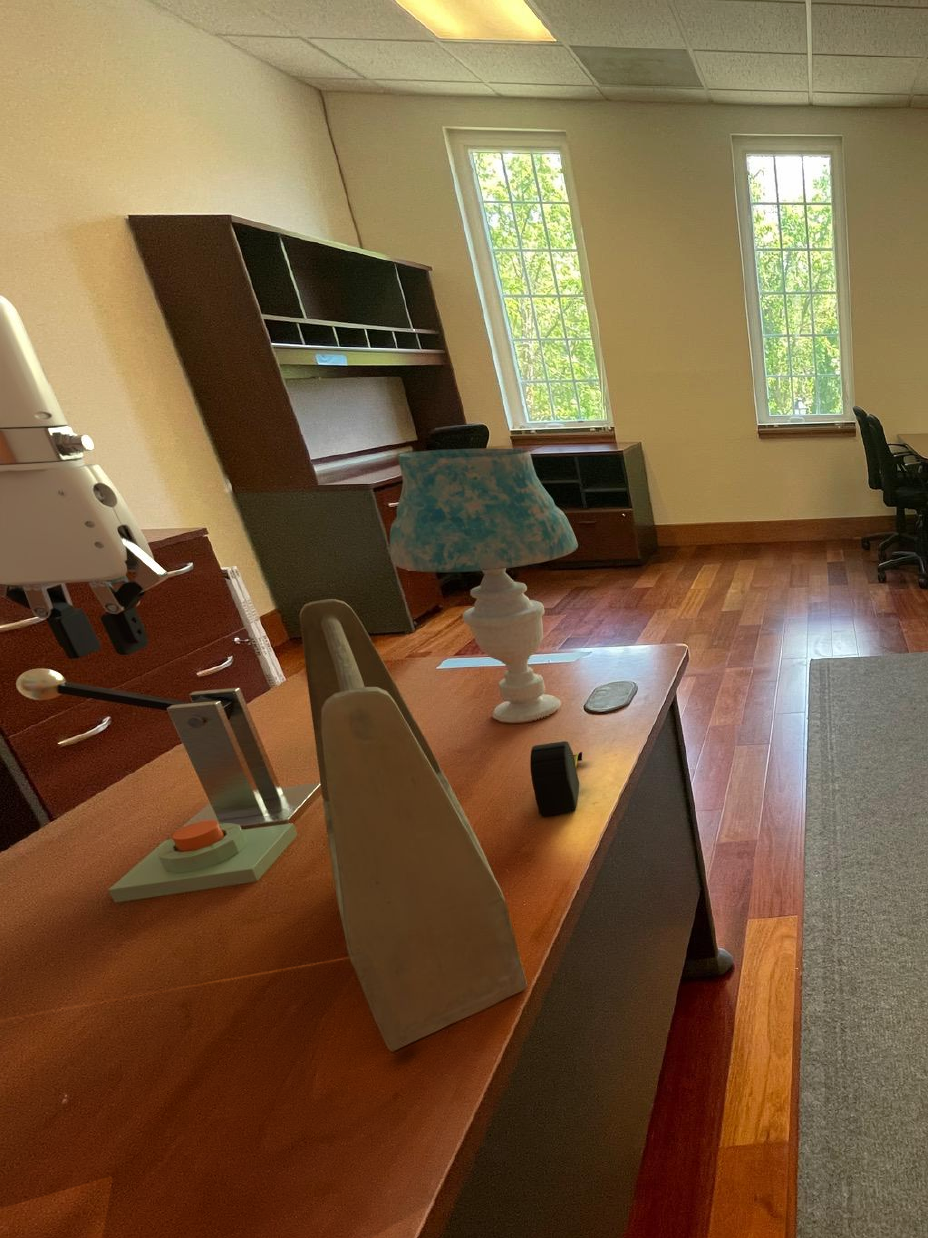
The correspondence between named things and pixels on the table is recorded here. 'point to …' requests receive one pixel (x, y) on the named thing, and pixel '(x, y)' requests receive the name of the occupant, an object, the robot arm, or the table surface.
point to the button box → (205, 863)
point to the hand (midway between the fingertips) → (109, 650)
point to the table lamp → (486, 552)
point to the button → (197, 835)
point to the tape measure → (555, 778)
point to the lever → (93, 691)
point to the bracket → (235, 765)
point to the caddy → (400, 846)
